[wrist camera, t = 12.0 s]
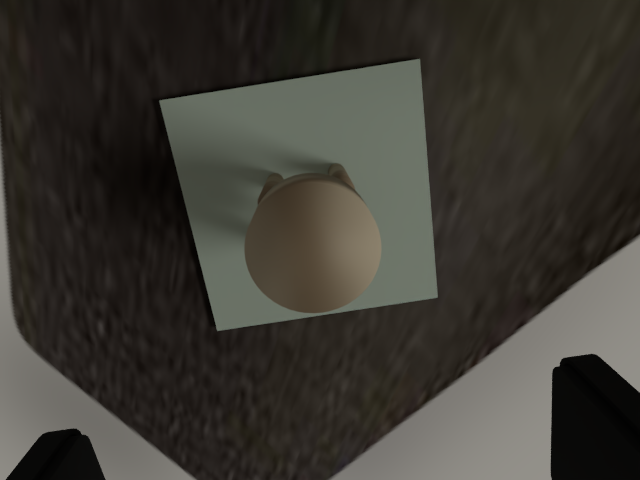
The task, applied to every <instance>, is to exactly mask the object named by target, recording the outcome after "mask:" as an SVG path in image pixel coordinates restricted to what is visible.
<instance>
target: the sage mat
mask: <svg viewBox="0 0 640 480" xmlns="http://www.w3.org/2000/svg"><path fill="white" fill-rule="evenodd" d="M159 102H160V106H161V110H162V114H163V118H164V122H165V126H166V130H167V134H168V138H169V142H170V146H171V149H172V153H173V157H174V161H175V165H176V169H177V173H178V177H179V181H180V185H181V189H182V193H183V197H184V201H185V205H186V209H187V213H188V217H189V221H190V225H191V229H192V233H193V237H194V241H195V245H196V249H197V253H198V256H199V260H200V264H201V268H202V272H203V276H204V280H205V284H206V288H207V292H208V296H209V300H210V304H211V308H212V312H213V316H214V320H215V324H216V328H217V331H220V330H226V329H233V328H240V327H246V326H253V325H259V324H266V323H273V322H279V321H286V320H293V319H299V318H306V317H312V316H319V315H326V314H332V313H339V312H345V311H352V310H359V309H365V308H372V307H378V306H385V305H392V304H398V303H405V302H412V301H418V300H425V299H431V298H438V296H437V282H436V269H435V255H434V242H433V229H432V215H431V202H430V188H429V175H428V161H427V148H426V135H425V121H424V108H423V94H422V81H421V68H420V59H416V60H410V61H404V62H397V63H391V64H385V65H379V66H372V67H366V68H360V69H353V70H347V71H341V72H335V73H328V74H322V75H316V76H310V77H303V78H297V79H291V80H285V81H278V82H272V83H266V84H259V85H253V86H247V87H241V88H234V89H228V90H222V91H216V92H209V93H203V94H197V95H191V96H184V97H178V98H172V99H165V100H159ZM335 163H338V164H341V165H342V166H343V167H344V169H345V170H346V172H347V174H348V176H349V177H350V179H351V181H352V183H353V185H354V187H355V190H356V192H357V193H358V194H359V195H360V196H361V198H362V199H363V200H364V202H365V204H366V205H367V207H368V209H369V211H370V212H371V214H372V216H373V218H374V220H375V222H376V224H377V226H378V229H379V232H380V238H381V249H382V250H381V259H380V263H379V267H378V269H377V272H376V274H375V276H374V278H373V280H372V282H371V283H370V284H369V286H368V287H367V289H366V290H365V291H364V292H363V293H362V294H361V295H360V296H358V297H357V298H356V299H355V300H353V301H352V302H350V303H349V304H347V305H345V306H343V307H341V308H338V309H335V310H332V311H328V312H323V313H303V312H297V311H293V310H290V309H287V308H285V307H282V306H280V305H278V304H277V303H275V302H273V301H272V300H271V299H269V298H268V297H267V296H266V295H265V294H263V293H262V292H261V290H260V289H259V288H258V287H257V286H256V284H255V283H254V281H253V279H252V278H251V275H250V273H249V271H248V268H247V265H246V261H245V254H244V244H245V237H246V233H247V229H248V227H249V224H250V222H251V220H252V217H253V215H254V213H255V211H256V208H257V206H258V198H259V195H260V193H261V191H262V189H263V187H264V185H265V183H266V180H267V178H268V177H269V175H271V174H273V173H278V174H280V175H281V176H282V177H283V179H286V178H288V177H291V176H294V175H298V174H302V173H321V174H327V175H328V169H329V167H330V166H331V165H333V164H335Z"/></svg>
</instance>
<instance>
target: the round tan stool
mask: <svg viewBox="0 0 640 480" xmlns="http://www.w3.org/2000/svg"><path fill="white" fill-rule="evenodd" d="M381 250H382V249H381V238H380V232H379V229H378V226H377V224H376V222H375V220H374V218H373V216H372V214H371V212H370V211H369V209H368V207H367V205H366V204H365V202H364V200H363V199H362V198H361V196H360V195H359V194H358V193H357V192H356V190H355V187H354V185H353V183H352V181H351V179H350V177H349V176H348V174H347V172H346V170H345V169H344V167H343V166H342V165H341V164H338V163H335V164H333V165H331V166H330V167H329V169H328V175H327V174H321V173H302V174H298V175H294V176H291V177H288V178H286V179H283V177H282V176H281V175H280V174H278V173H273V174H271V175H269V177H268V178H267V180H266V183H265V185H264V187H263V189H262V191H261V193H260V195H259V198H258V206H257V208H256V211H255V213H254V215H253V217H252V220H251V222H250V224H249V227H248V229H247V233H246V237H245V244H244V254H245V261H246V265H247V268H248V271H249V273H250V275H251V278H252V279H253V281H254V283H255V284H256V286H257V287H258V288H259V289H260V290H261V292H262V293H263V294H265V295H266V296H267V297H268V298H269V299H271V300H272V301H273V302H275V303H277V304H278V305H280V306H282V307H285V308H287V309H290V310H293V311H297V312H303V313H323V312H328V311H332V310H335V309H338V308H341V307H343V306H345V305H347V304H349V303H350V302H352V301H353V300H355V299H356V298H357V297H358V296H360V295H361V294H362V293H363V292H364V291H365V290H366V289H367V287H368V286H369V284H370V283H371V282H372V280H373V278H374V276H375V274H376V272H377V269H378V267H379V263H380V259H381Z"/></svg>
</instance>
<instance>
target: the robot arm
mask: <svg viewBox="0 0 640 480" xmlns="http://www.w3.org/2000/svg"><path fill="white" fill-rule="evenodd" d="M551 431H552V432H551V477H552V480H640V393H639V392H638V391H637V390H636V389H635V388H634V387H632V386H631V385H630V384H629V383H628V382H627V381H626V380H625V379H623V378H622V377H621V376H620V375H619V374H618V373H617V372H616V371H615V370H613V369H612V368H611V367H610V366H609V365H608V364H607V363H606V362H604V361H603V360H602V359H601V358H600V357H598V356H597V355H595V354H588V355H581V356H574V357H567V358H563V359H562V360H561V362H560V366H559V367H555V368H554V369H553V373H552V427H551ZM6 480H105V478H104V475H103V472H102V470H101V467H100V465H99V462H98V460H97V457H96V454H95V452H94V449H93V447H92V444H91V442H90V439H89V438H88V436H86V435H82V434H81V432H80V431H79V430H77V429H67V430H60V431H53V432H47V433H44V434H42V435H41V436H40V437H39V438H38V440H37V441H36V442H35V443H34V445H33V446H32V447H31V448H30V450H29V451H28V452H27V453H26V455H25V456H24V457H23V459H22V460H21V461H20V462H19V463H18V465H17V466H16V467H15V469H14V470H13V471H12V472H11V474H10V475H9V476H8V477H7V479H6Z"/></svg>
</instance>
